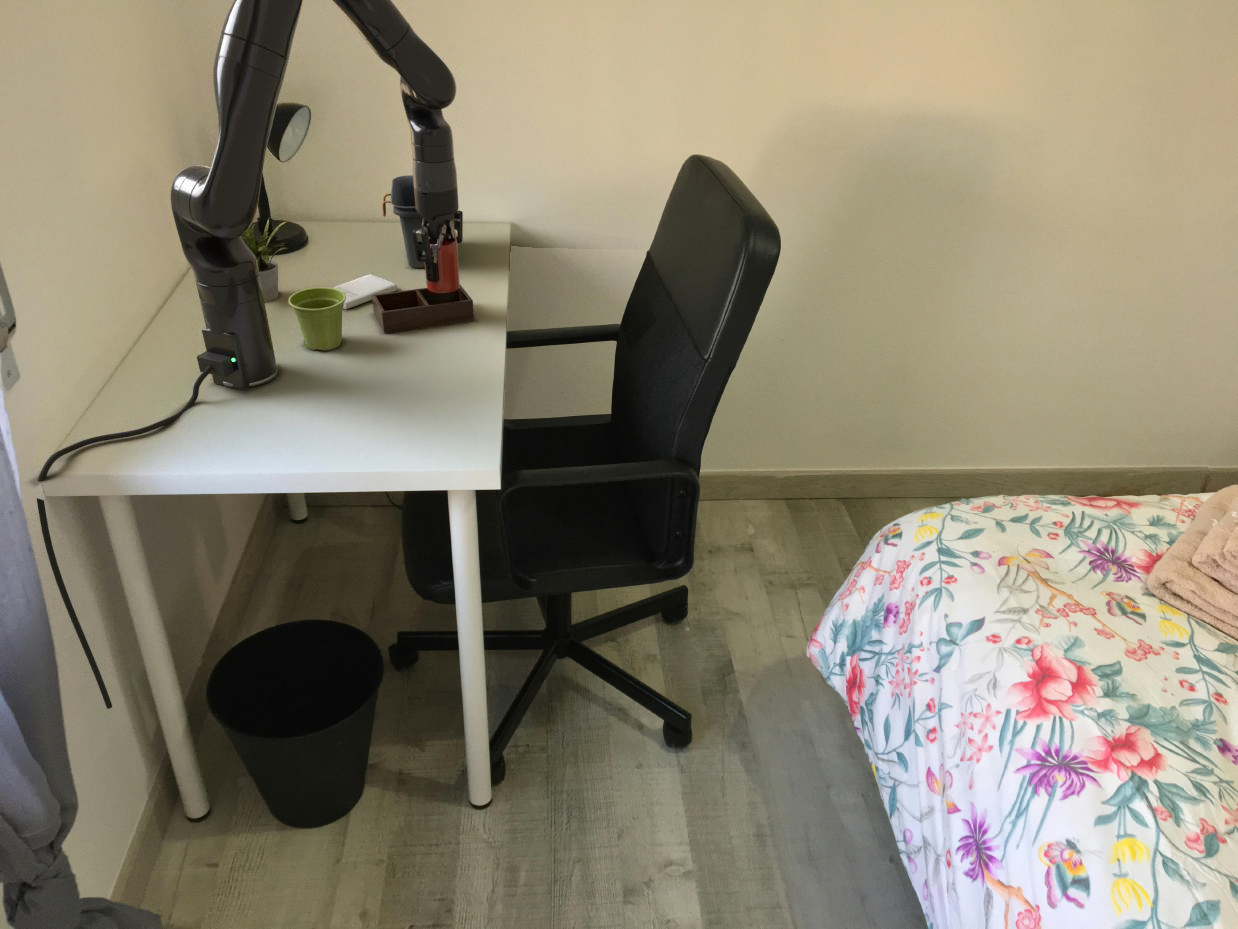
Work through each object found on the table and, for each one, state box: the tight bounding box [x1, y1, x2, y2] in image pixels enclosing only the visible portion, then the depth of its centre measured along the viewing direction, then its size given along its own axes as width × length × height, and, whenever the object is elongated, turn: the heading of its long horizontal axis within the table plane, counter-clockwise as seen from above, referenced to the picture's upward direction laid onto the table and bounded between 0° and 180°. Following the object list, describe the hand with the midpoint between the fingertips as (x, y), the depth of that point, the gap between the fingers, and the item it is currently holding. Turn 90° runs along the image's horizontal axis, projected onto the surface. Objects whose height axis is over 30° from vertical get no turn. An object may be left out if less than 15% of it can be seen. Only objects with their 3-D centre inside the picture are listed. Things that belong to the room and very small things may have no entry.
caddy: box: [371, 284, 475, 334], centre depth 169 cm, size 9×17×4 cm, turn 115°
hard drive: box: [332, 273, 398, 310], centre depth 178 cm, size 2×8×12 cm
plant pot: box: [288, 286, 346, 351], centre depth 157 cm, size 9×9×9 cm
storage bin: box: [382, 174, 425, 269], centre depth 194 cm, size 21×16×14 cm
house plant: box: [241, 218, 289, 302], centre depth 171 cm, size 14×14×16 cm
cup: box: [424, 238, 461, 293], centre depth 166 cm, size 6×6×9 cm
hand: (442, 274), depth 167 cm, fingers closed on cup, 6 cm apart
